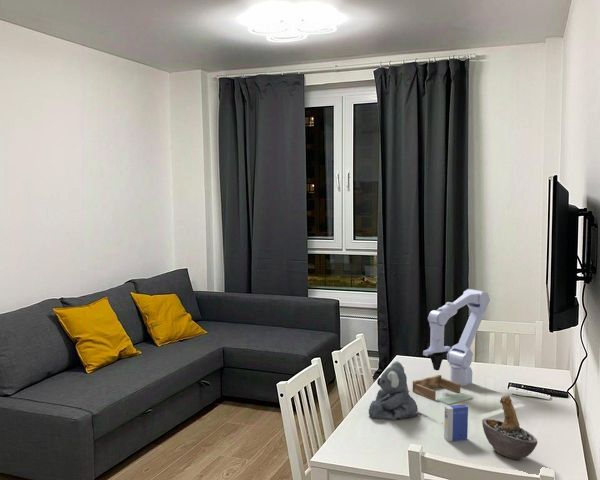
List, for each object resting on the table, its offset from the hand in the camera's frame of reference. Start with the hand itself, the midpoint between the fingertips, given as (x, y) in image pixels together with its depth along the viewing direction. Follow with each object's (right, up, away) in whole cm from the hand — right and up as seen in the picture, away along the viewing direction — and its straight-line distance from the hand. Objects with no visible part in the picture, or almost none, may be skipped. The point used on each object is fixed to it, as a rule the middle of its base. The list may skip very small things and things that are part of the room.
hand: (436, 369), depth 255 cm
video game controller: (-17, -10, -1) cm, 20 cm away
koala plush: (-22, -12, -23) cm, 34 cm away
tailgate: (+3, -9, -9) cm, 13 cm away
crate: (-1, -10, -3) cm, 11 cm away
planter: (+10, -15, -59) cm, 62 cm away
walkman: (-4, -14, -47) cm, 49 cm away
